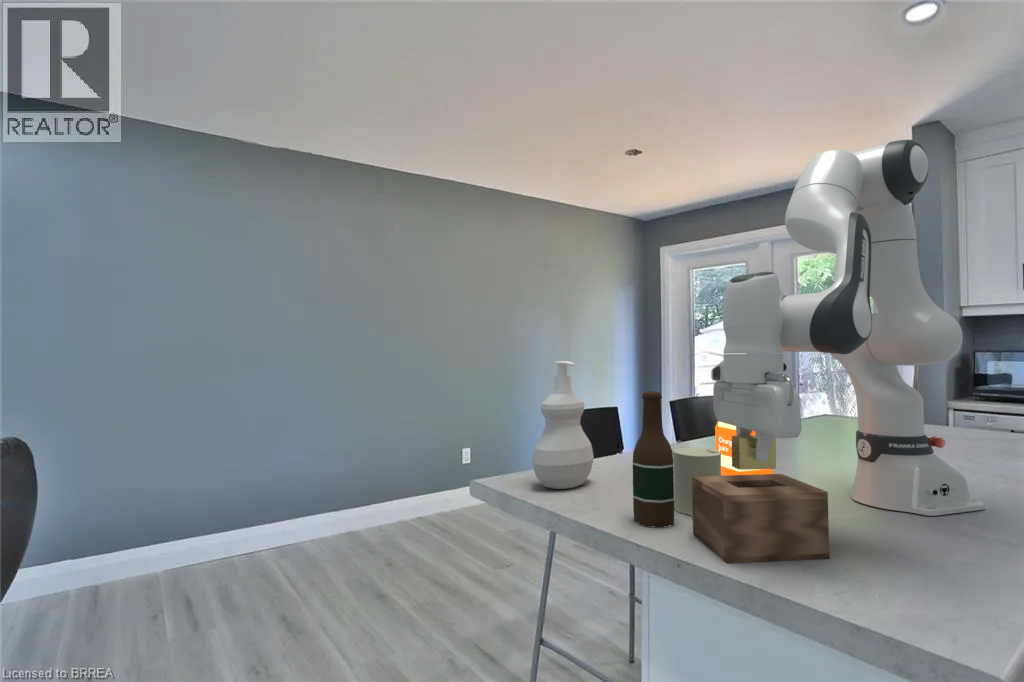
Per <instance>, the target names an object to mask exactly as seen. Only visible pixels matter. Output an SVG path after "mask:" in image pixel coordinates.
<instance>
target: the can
mask: <svg viewBox="0 0 1024 682" xmlns="http://www.w3.org/2000/svg"><path fill="white" fill-rule="evenodd" d="M672 452H673V469H674V511H676V510H677V511H678V512H677V511H676V512H677V513H680V512H681V513H680V514H682V513H684V514H683V515H686V514H688V515H687V516H691V515H693V506H692V476H721V452H720V451H717V450H716V449H713V448H707V447H706V448H705V447H694V446H693V447H689V446H688V447H679V448H674V449H672Z"/></svg>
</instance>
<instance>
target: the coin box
mask: <svg viewBox="0 0 1024 682" xmlns="http://www.w3.org/2000/svg"><path fill="white" fill-rule="evenodd" d="M692 506H693V516H692V536H693V535H694V536H693V537H695V539H697V540H698V541H699V540H700V541H699V542H701V543H702V544H703V545H704V546H705V547H706V548H708V549H709V550H710V551H712V552H713V553H714V554H715V555H717V556H718V557H719V558H720V559H721V560H723V562H725V563H726V564H735V563H742V564H743V563H759V562H762V563H764V562H782V561H785V562H786V561H787V562H788V561H804V560H805V561H808V560H809V561H810V560H827V559H828V560H830V532H829V531H830V529H829V526H830V525H829V492H828V491H827V490H824V489H821V488H819V487H816V486H813V485H812V484H808V483H806V482H803V481H801V480H799V479H796V478H793V477H791V476H788V475H787V474H786V475H785V474H783V473H773V474H756V475H724V476H692Z"/></svg>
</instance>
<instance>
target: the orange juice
mask: <svg viewBox="0 0 1024 682" xmlns="http://www.w3.org/2000/svg"><path fill="white" fill-rule="evenodd" d="M714 431H715V434H714V436H715V437H714V439H715V450H717V451H720V452H721V476H724V475H756V474H774V469H753V470H739V469H737V468H735V467H732V436H737V434H736V426H733V425H730V424H726V423H722V422H719V421H718V420H717V423H716V425H715V426H714ZM750 434H751V435H756V432H755V431H752V433H750Z"/></svg>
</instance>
